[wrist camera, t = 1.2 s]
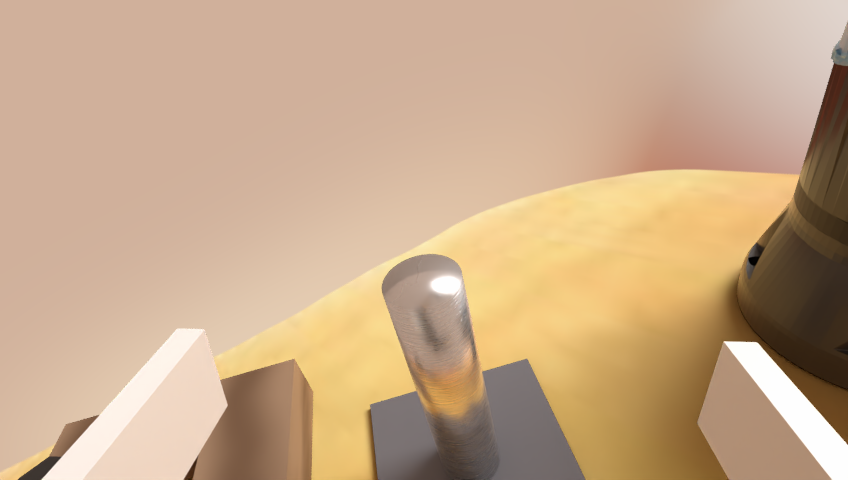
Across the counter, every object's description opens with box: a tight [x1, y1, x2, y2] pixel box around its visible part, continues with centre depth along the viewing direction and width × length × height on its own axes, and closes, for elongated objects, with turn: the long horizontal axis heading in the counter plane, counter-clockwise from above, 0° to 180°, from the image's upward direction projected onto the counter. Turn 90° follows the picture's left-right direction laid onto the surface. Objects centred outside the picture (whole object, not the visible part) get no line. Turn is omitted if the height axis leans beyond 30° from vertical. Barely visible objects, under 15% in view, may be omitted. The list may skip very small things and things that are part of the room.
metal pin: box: [382, 254, 500, 480], centre depth 25 cm, size 4×4×15 cm
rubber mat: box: [370, 359, 585, 480], centre depth 29 cm, size 12×12×1 cm
